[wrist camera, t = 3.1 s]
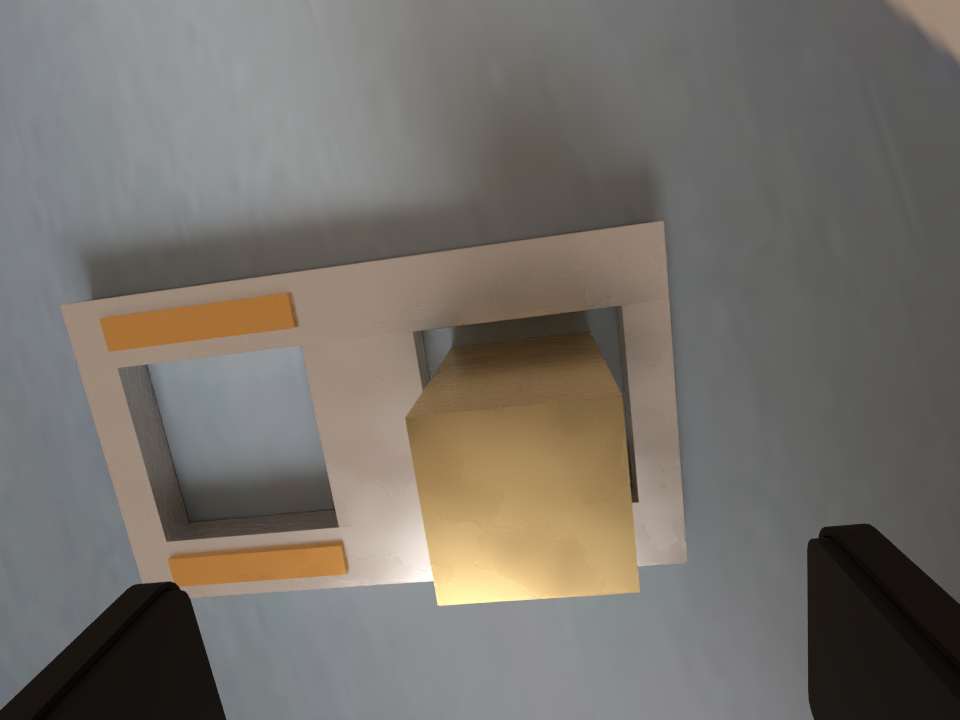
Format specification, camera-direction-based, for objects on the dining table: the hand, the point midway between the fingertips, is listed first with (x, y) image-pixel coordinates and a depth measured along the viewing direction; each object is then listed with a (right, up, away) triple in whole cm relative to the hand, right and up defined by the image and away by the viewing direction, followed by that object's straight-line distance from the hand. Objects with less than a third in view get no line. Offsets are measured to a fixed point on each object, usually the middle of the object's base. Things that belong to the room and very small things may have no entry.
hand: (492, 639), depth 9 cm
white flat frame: (-4, +2, +13) cm, 14 cm away
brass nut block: (+2, +2, +13) cm, 13 cm away
